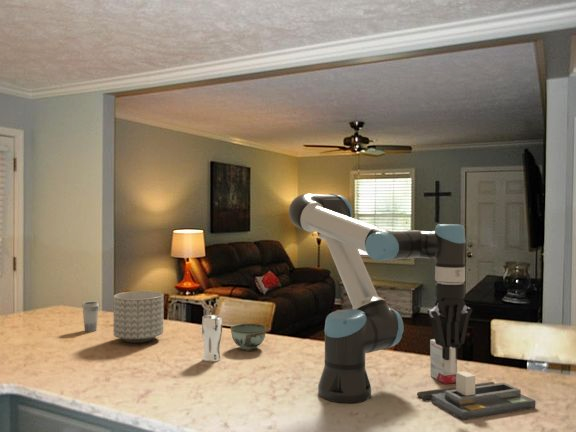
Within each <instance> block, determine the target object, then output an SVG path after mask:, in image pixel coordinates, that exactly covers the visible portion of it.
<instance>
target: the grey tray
mask: <svg viewBox="0 0 576 432" xmlns="http://www.w3.org/2000/svg"><path fill="white" fill-rule="evenodd" d="M521 392H522V391H521V389H519V388H518V387H515V386H513V385H510V384H509V383H506V382H499V383H495V384H490V385H483V386H475V395H469V396H462V397H460V396H458V395H456V389H454V390H447V391H445V393H439V394H432V395H431V399H430V400H431V403H433V404H434V405H436V406H438V407H440V409H443V410H444V411H446V412H448V413H450V414H451V415H453V416H455V417H456V418H458V419H460V420H462V421H466V420H472V419H478V418H484V416H485V417H490V415H491V416H494V415H495V416H496V415H503V414H505V413H506V414H508V413H513V411H514V412H520V411H525V409H526V410H531V409H530V408H532V409H535V408H536V400H535V399H533V398H530V397H528V396H527V395H524V394H522V393H521ZM519 410H520V411H519ZM507 412H508V413H507Z"/></svg>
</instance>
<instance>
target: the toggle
mask: <svg viewBox="0 0 576 432" xmlns="http://www.w3.org/2000/svg"><path fill="white" fill-rule="evenodd" d="M475 384H476V375H475V374H472V373H470V372H467V371H466V370H465V371H463V370H462V371H457V372H456V383H455V387H456V395H458V396H460V397H462V396H469V395H475Z"/></svg>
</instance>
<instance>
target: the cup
mask: <svg viewBox="0 0 576 432" xmlns="http://www.w3.org/2000/svg"><path fill="white" fill-rule="evenodd" d="M99 306H100V304H99V301H95V300H94V301H92V300H91V301H84V302H83V303H82V304H81V307H82V315H83V317H82V318H83V325H84V332H86V333H90V332H91V333H92V332H96V331H97V326H98V317H99Z"/></svg>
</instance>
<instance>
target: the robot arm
mask: <svg viewBox="0 0 576 432" xmlns="http://www.w3.org/2000/svg"><path fill="white" fill-rule="evenodd" d="M353 210H354V209H353V208H352V204H351V203H350V201H349V200H348V199H347V198H346V197H345V196H343V195H340V194H336V193H328V194H326V193H324V194H322V193H304V194H300V195H297V196H296V197H295V198H294V199H293V200H292V201H291V203H290V204H289V207H288V217H289V220H290V221H291V223H292V225H294V226H295V227H296V228H298V229H300V230H302V231H305V232H308V233H314V232H316V233H317V235H318V238H319V239H320V240H322V241H325V243H326V245H327V247H328V249H329V252H330V255H331V258H332V260H333V262H334V265H335V266H336V270H337V273H338V275H339V276H340V279H341V281H342V284H343V286H344V289H345V292H346V293H347V296H348V298H349V302H350V304H351V305H352V308H347V309H338V310H334V311H332V312H331V313H328V314H327V315H326V318H325V322H324V323H325V324H324V330H323V331H324V366H323V369H322V373H321V376H320V379H319V382H318V384H317V385H318V387H317V388H318V389H317V393H318V395H319V396H320V398H323V399H324V400H328V401H329V402H330V401H331V402H335V403H342V404H355V403H356V404H357V403H361V402H364V401H367V400H369V399H370V398H372V385H371V382H370V379H369V376H368V372H367V370H366V354H371V353H373V352H377V351H378V352H379V351H380V350H381V351H382V350H384V351H385V350H388V349H389V348H393V347H394V346H396V345H398V344H399V343H400V341H401V339H402V338H403V333H404V321H403V318H402V316H401V315H400V313H399V312H398V311H397V310H395V309H394V308H392V307H391V308H390V307H389V306H388V303H387V301H386V299H384V298H382V297H381V296H379V295H378V293H377V291H376V288H375V286H374V284H373V281H372V279H371V277H370V274H369V271H368V270H367V268H366V265H365V263H364V261H363V258H362V256H361V253H360V252H359V250H361V251H363V252H366V254H367V255H368V256H369V257H370V259H372V260H374V261H378V262H388V261H394V260H395V261H396V260H404V259H406V260H408V259H417V258H418V259H433V260H435V261H434V262H435V266H434V267H435V268H434V269H435V270H434V273H435V275H434V280H435V281H436V283H435V286H434V289H435V291H434V292H435V293H434V295H435V298H436V301H435V303H434V307H433V308H432V309H431V308H430V309H427V311H426V312H427V314H428V316H429V318H430V321H431V326H432V331H433V332H432V333H433V336H434V338H433V339H435V342H436V344H438V345H440V346H442V358H443V359H444V370H445V371H447V372H449V373H455V361H456V359H457V360H458V349H460V348H461V346H462V345H464V344H465V339H466V335H467V330H468V325H469V320H470V316H471V314H472V313H473V308H472V307H469V306H467V305H466V303H465V299H464V298H466V284H465V283H464V282H465V281H466V263H465V262H466V242H467V240H466V232H465V231H466V229H465V227H464V226H463V225H462V224H459V223H458V224H457V223H455V224H453V223H449V224H447V223H442V224H440V223H438V224H437V225H436V226H435V230H432V231H430V230H416V229H409V230H402V231H401V230H400V231H399V230H398V231H393V230H388V229H385V228H382V227H379V226H377V225H376V226H375V225H374V224H371V223H368V222H365V221H362V220H359V219H356V218H353V217H354V216H353V213H354V211H353Z"/></svg>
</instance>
